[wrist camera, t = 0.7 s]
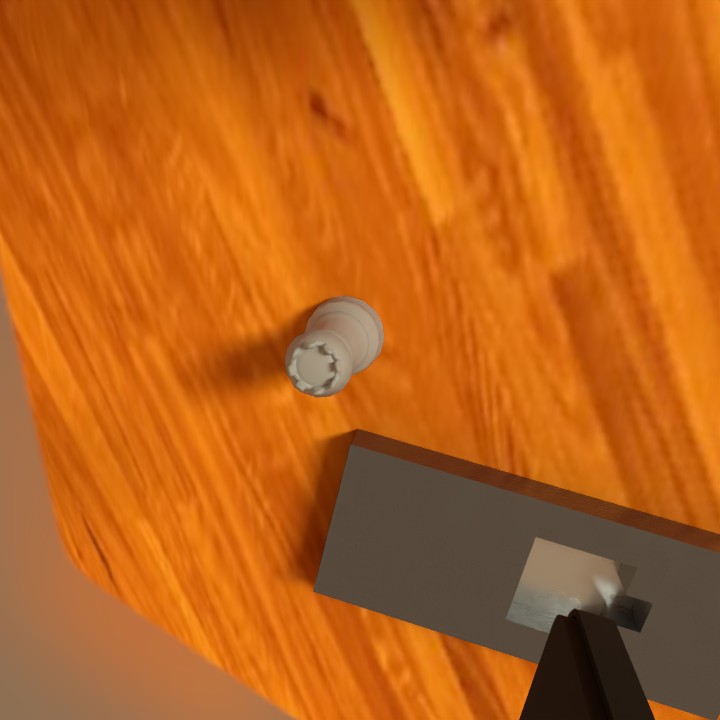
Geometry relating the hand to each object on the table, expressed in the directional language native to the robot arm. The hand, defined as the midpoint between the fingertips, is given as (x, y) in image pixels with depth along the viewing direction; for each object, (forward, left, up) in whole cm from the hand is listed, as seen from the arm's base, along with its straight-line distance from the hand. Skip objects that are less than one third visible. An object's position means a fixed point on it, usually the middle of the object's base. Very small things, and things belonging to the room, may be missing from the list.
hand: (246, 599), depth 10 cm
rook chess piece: (+2, -3, -26) cm, 26 cm away
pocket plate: (+13, +11, -26) cm, 31 cm away
